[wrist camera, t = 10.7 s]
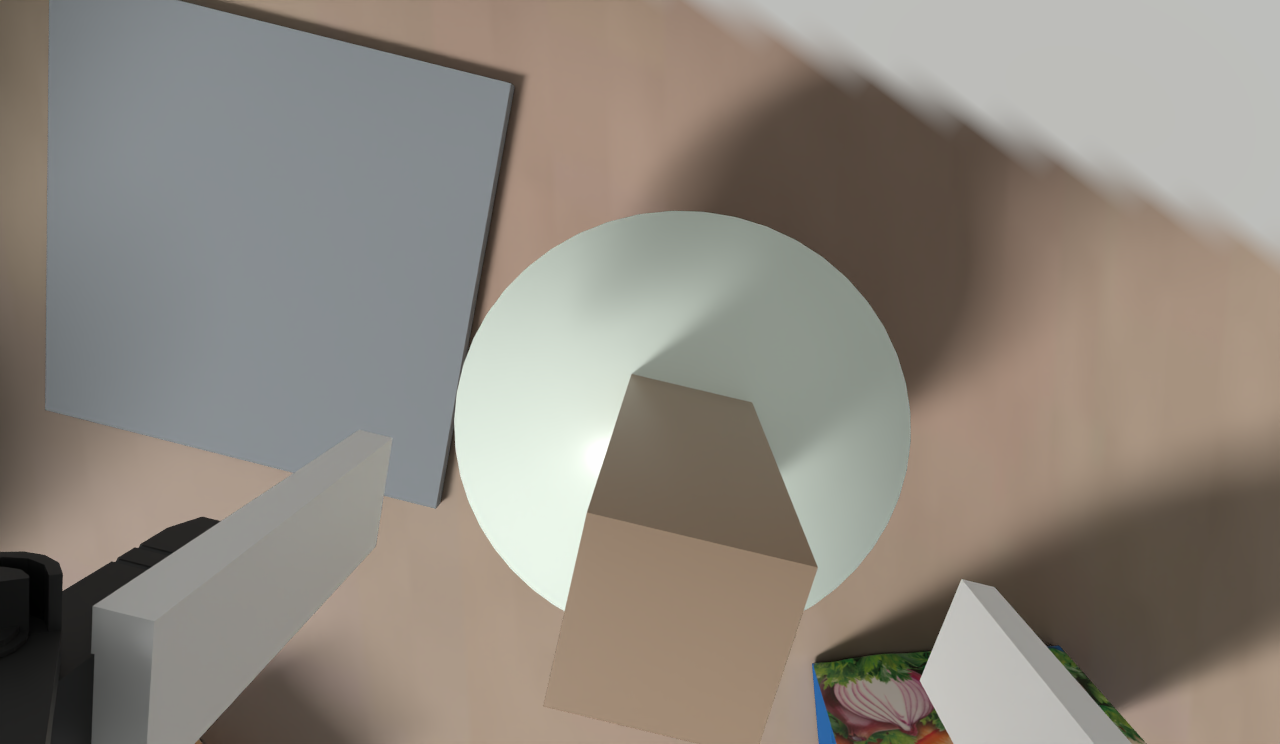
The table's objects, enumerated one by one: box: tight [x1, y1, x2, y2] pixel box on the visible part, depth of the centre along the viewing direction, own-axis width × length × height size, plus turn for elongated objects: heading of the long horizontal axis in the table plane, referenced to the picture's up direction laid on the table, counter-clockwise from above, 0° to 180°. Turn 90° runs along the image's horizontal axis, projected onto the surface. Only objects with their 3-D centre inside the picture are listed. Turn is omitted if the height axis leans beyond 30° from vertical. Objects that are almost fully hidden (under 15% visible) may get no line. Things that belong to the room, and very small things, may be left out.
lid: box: [454, 211, 911, 744], centre depth 16 cm, size 15×15×11 cm
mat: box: [45, 0, 515, 509], centre depth 29 cm, size 20×20×1 cm
